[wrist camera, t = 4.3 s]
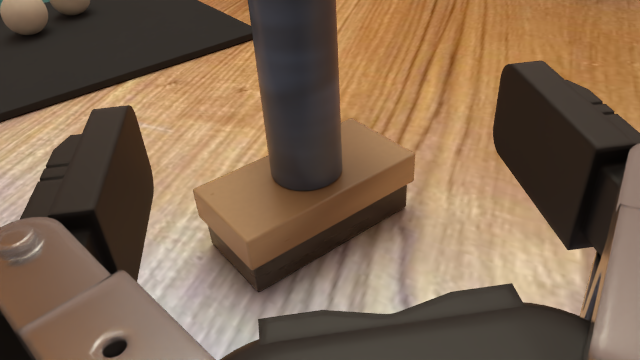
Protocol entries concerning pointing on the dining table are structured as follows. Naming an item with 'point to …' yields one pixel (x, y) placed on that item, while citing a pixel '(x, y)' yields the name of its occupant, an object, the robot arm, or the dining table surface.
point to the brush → (301, 155)
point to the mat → (106, 48)
